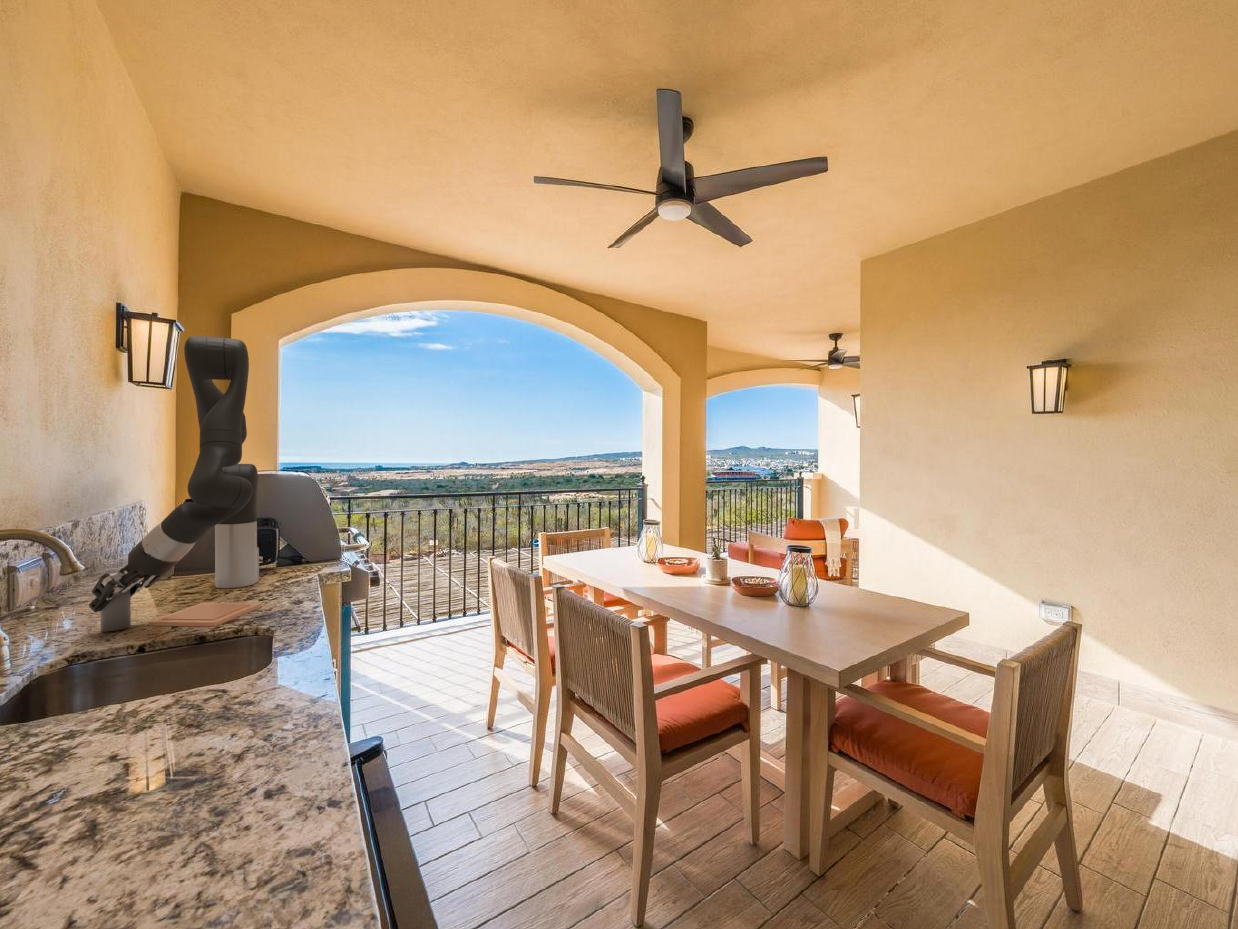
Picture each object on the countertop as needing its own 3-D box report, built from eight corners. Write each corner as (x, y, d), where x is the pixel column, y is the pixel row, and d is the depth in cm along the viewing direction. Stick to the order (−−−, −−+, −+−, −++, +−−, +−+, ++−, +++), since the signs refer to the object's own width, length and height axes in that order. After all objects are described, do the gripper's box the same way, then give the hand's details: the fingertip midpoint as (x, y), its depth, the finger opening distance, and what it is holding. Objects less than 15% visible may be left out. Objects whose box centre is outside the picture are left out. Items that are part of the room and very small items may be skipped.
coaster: (202, 605, 122) (202, 601, 122) (261, 606, 122) (261, 602, 122) (148, 625, 108) (148, 620, 108) (214, 626, 108) (214, 621, 108)
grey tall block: (115, 623, 108) (115, 571, 107) (136, 624, 107) (136, 571, 107) (94, 631, 103) (93, 576, 103) (116, 631, 103) (115, 576, 103)
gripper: (181, 528, 112) (126, 583, 112) (117, 539, 98) (54, 602, 98) (206, 553, 112) (151, 607, 112) (145, 568, 98) (82, 630, 98)
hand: (106, 604), depth 105 cm, fingers closed on grey tall block, 4 cm apart
